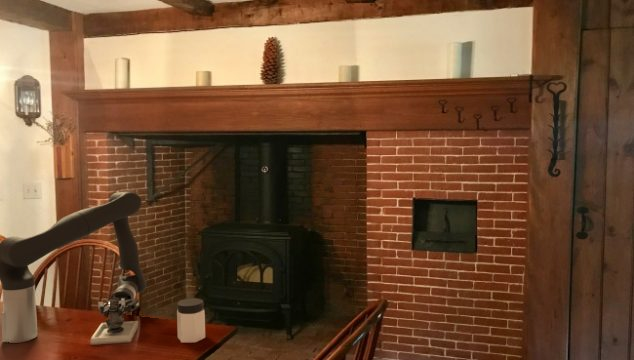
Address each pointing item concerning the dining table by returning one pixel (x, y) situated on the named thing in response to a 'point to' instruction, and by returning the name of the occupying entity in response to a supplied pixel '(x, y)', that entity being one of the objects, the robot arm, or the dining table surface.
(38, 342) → the dining table surface
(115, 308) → the salt shaker
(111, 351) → the dining table surface
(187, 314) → the jar
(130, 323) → the tray
